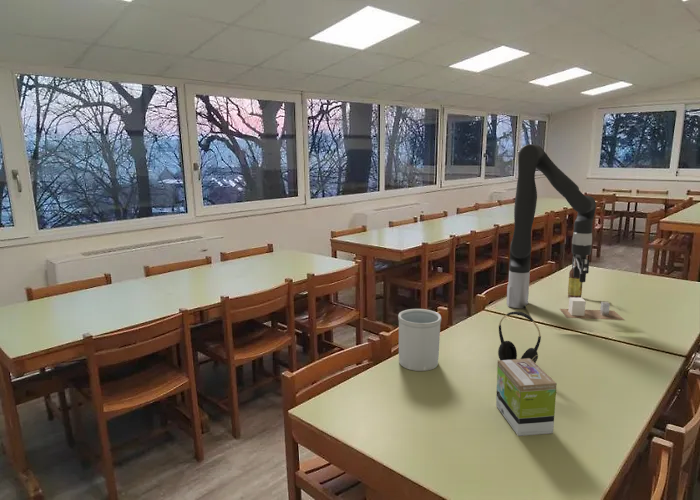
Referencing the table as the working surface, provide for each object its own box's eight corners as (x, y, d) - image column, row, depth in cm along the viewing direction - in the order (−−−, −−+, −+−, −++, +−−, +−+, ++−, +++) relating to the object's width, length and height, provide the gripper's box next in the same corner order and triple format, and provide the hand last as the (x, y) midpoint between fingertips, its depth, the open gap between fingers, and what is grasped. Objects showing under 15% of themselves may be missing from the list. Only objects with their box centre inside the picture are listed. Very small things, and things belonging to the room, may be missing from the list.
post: (602, 315, 200) (603, 303, 199) (600, 313, 203) (601, 301, 202) (608, 315, 200) (609, 303, 199) (606, 313, 202) (607, 301, 201)
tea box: (494, 406, 133) (496, 358, 130) (527, 404, 134) (530, 356, 131) (517, 437, 118) (520, 384, 115) (554, 434, 119) (558, 382, 116)
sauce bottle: (582, 299, 226) (586, 260, 223) (569, 299, 228) (572, 260, 224) (579, 296, 233) (582, 257, 229) (565, 295, 234) (568, 257, 230)
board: (566, 321, 199) (566, 317, 198) (559, 311, 210) (559, 308, 210) (624, 323, 195) (624, 319, 194) (613, 313, 206) (613, 310, 206)
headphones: (532, 379, 148) (535, 320, 144) (490, 365, 159) (493, 310, 155) (544, 370, 154) (548, 314, 150) (503, 357, 165) (506, 304, 161)
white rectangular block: (571, 315, 201) (572, 300, 200) (568, 311, 206) (569, 297, 205) (584, 315, 200) (585, 301, 199) (580, 311, 205) (581, 297, 204)
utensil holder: (443, 356, 166) (444, 310, 163) (436, 374, 153) (437, 325, 149) (403, 351, 171) (403, 306, 168) (393, 369, 158) (393, 320, 154)
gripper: (567, 239, 204) (565, 275, 208) (577, 246, 191) (574, 283, 194) (585, 240, 203) (583, 275, 206) (597, 246, 189) (594, 284, 193)
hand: (579, 279), depth 200 cm, fingers open, 8 cm apart
